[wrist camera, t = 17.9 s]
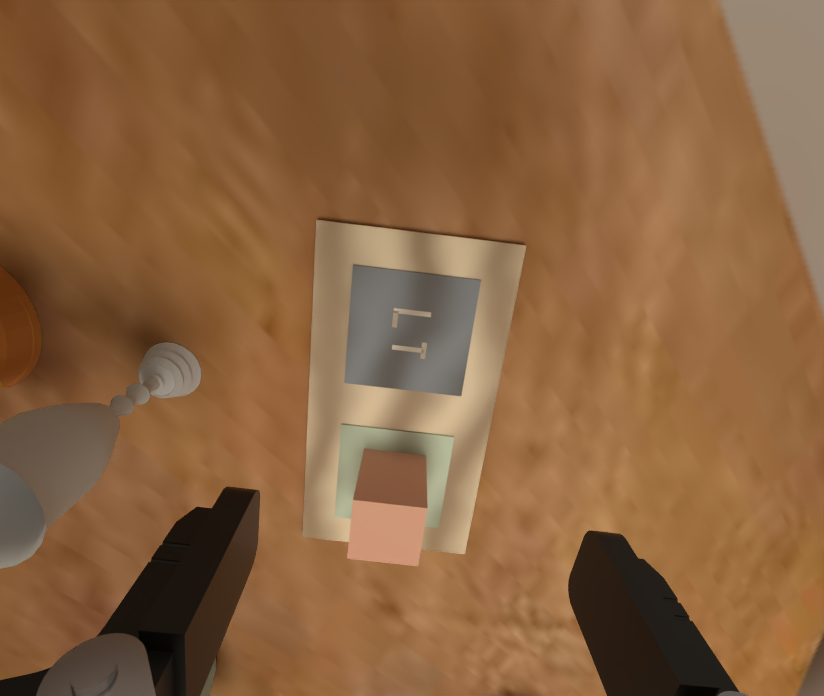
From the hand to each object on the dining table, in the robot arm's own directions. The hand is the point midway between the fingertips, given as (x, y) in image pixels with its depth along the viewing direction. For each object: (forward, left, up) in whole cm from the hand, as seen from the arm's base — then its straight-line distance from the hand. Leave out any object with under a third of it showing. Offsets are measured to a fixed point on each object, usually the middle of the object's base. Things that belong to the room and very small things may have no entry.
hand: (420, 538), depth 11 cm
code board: (0, -10, -26) cm, 28 cm away
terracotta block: (-1, -17, -25) cm, 30 cm away
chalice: (-20, -9, -26) cm, 35 cm away
